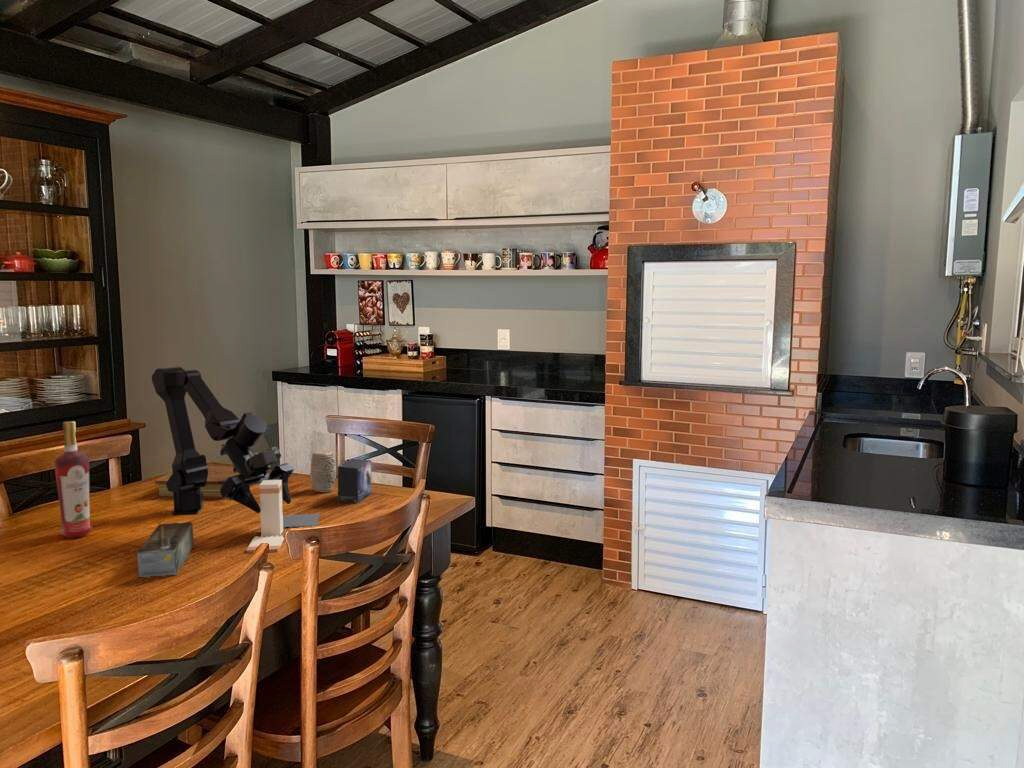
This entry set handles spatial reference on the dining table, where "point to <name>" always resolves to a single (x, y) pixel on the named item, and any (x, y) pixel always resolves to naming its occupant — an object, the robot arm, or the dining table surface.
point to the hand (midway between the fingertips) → (274, 507)
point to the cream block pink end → (271, 540)
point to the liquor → (73, 486)
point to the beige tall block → (271, 507)
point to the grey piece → (165, 550)
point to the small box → (354, 480)
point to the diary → (213, 484)
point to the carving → (322, 471)
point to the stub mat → (300, 520)
